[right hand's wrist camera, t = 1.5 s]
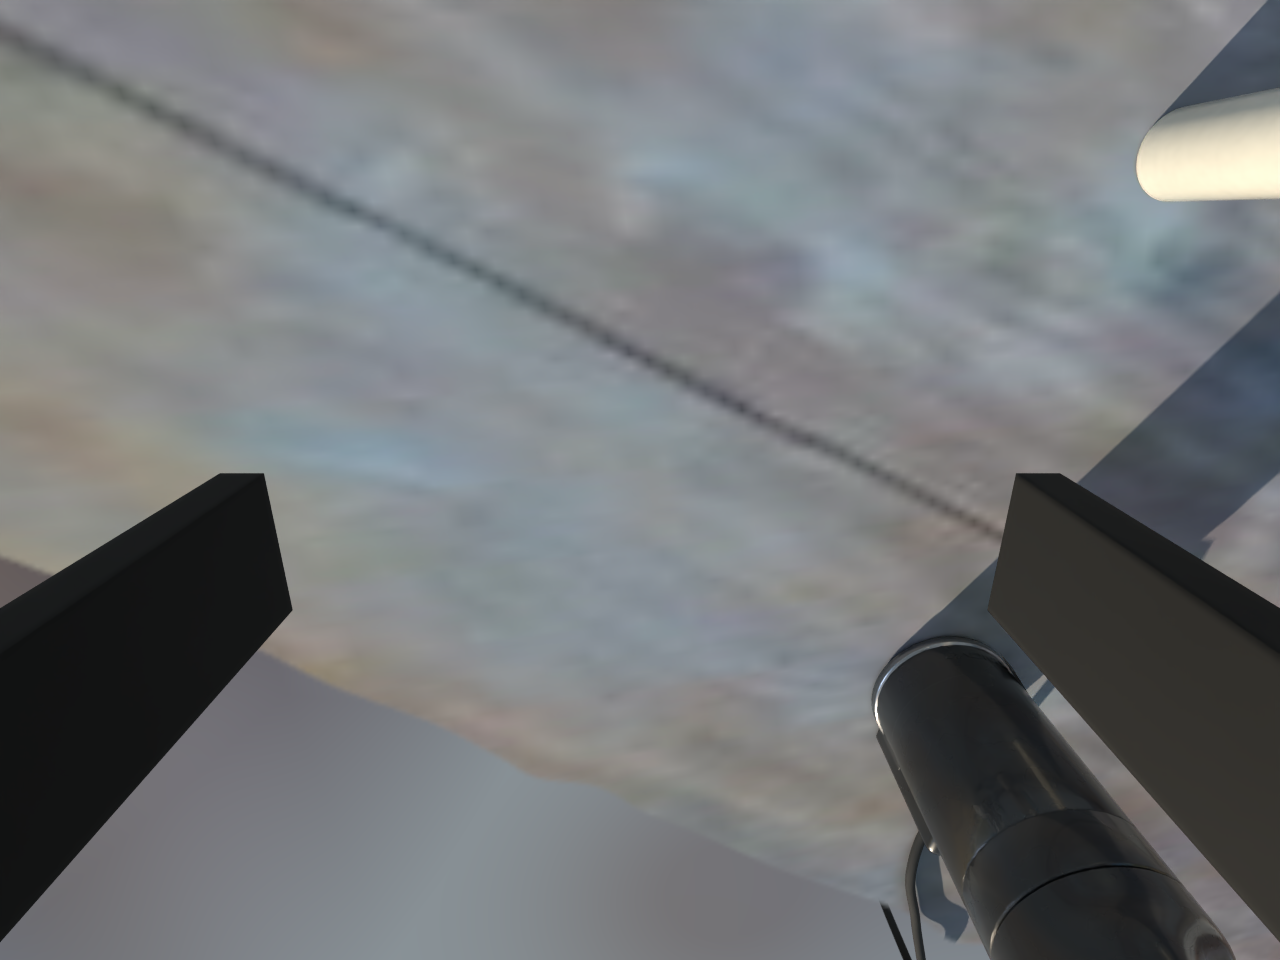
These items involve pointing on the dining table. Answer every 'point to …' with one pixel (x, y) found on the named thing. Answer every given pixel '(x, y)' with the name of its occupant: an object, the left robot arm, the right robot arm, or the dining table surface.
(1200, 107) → the bottle
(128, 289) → the dining table surface
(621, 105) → the dining table surface
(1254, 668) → the right robot arm
